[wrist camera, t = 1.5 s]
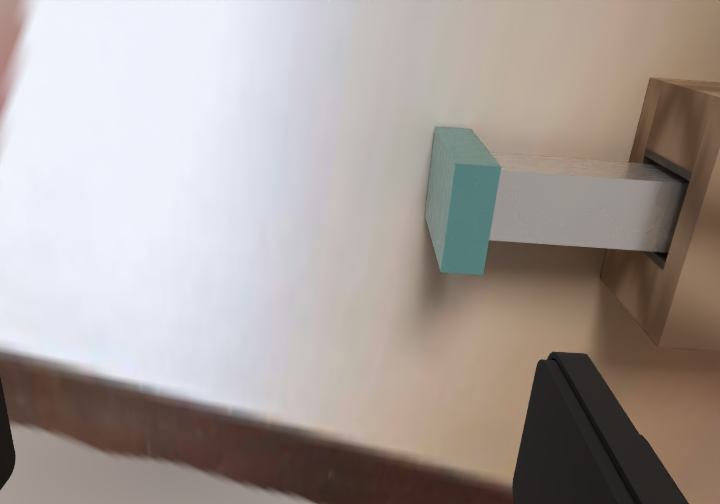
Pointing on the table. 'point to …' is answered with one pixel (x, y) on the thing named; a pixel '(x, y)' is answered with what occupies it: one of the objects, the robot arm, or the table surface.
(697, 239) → the block
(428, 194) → the peg
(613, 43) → the table surface
